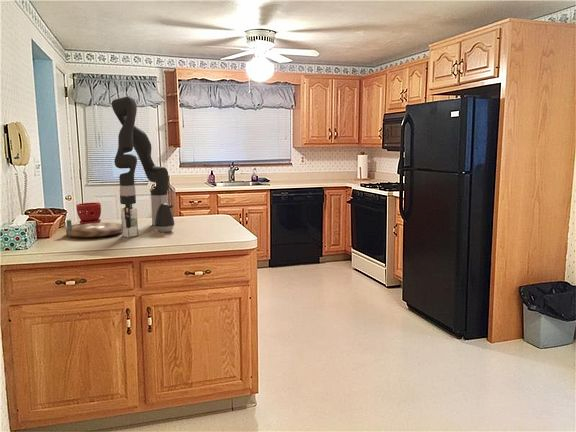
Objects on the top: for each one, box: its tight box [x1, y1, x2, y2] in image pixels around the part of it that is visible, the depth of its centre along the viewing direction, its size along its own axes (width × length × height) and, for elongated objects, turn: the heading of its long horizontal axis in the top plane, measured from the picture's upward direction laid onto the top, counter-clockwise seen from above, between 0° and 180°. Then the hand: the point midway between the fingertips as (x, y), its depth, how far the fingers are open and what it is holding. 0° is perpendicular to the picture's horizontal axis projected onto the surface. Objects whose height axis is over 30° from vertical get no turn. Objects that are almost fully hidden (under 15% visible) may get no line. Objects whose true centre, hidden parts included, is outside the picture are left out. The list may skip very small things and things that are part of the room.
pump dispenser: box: [154, 203, 175, 233], centre depth 250 cm, size 10×10×15 cm
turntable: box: [65, 219, 122, 238], centre depth 245 cm, size 28×28×7 cm
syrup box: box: [120, 206, 139, 238], centre depth 239 cm, size 6×6×14 cm
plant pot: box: [76, 202, 102, 225], centre depth 273 cm, size 13×13×12 cm
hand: (129, 226), depth 239 cm, fingers closed on syrup box, 7 cm apart
